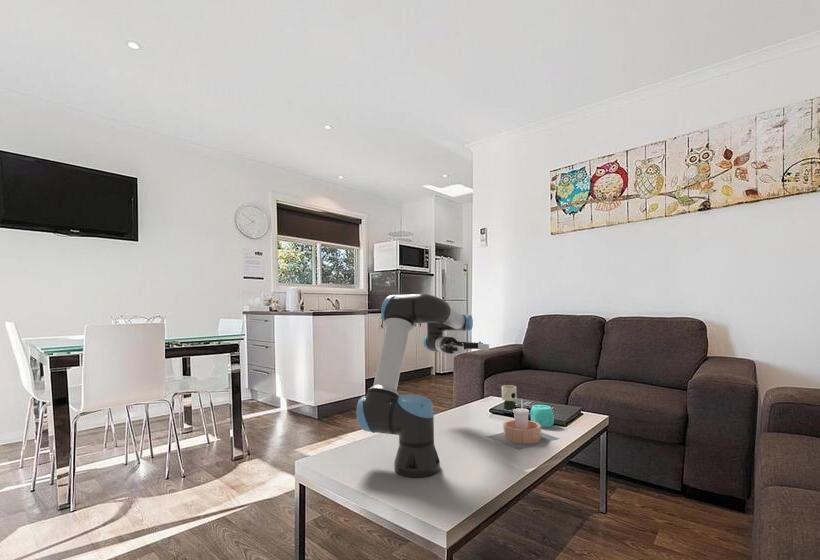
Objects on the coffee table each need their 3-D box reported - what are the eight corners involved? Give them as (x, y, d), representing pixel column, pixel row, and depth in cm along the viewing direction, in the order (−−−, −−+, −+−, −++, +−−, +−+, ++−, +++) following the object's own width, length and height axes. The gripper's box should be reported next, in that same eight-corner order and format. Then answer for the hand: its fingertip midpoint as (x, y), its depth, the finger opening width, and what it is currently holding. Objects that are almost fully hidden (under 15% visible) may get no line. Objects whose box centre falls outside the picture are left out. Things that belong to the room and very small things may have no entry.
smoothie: (531, 437, 161) (529, 401, 161) (514, 437, 162) (512, 401, 162) (529, 432, 167) (527, 397, 168) (513, 432, 168) (511, 397, 169)
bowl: (522, 446, 155) (522, 432, 155) (496, 436, 167) (496, 423, 167) (548, 439, 162) (548, 426, 162) (522, 429, 174) (521, 417, 174)
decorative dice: (530, 422, 185) (530, 404, 186) (548, 422, 185) (548, 404, 185) (535, 428, 177) (534, 409, 178) (554, 428, 177) (553, 409, 178)
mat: (518, 451, 151) (518, 449, 151) (486, 437, 166) (486, 436, 166) (559, 439, 162) (559, 438, 162) (525, 428, 178) (525, 427, 178)
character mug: (512, 417, 195) (511, 389, 195) (498, 415, 199) (497, 387, 200) (521, 412, 203) (520, 385, 204) (507, 410, 208) (506, 383, 208)
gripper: (468, 350, 198) (498, 355, 180) (424, 355, 186) (452, 360, 167) (467, 335, 199) (498, 337, 180) (423, 338, 186) (451, 341, 168)
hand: (476, 348), depth 174 cm, fingers open, 13 cm apart
